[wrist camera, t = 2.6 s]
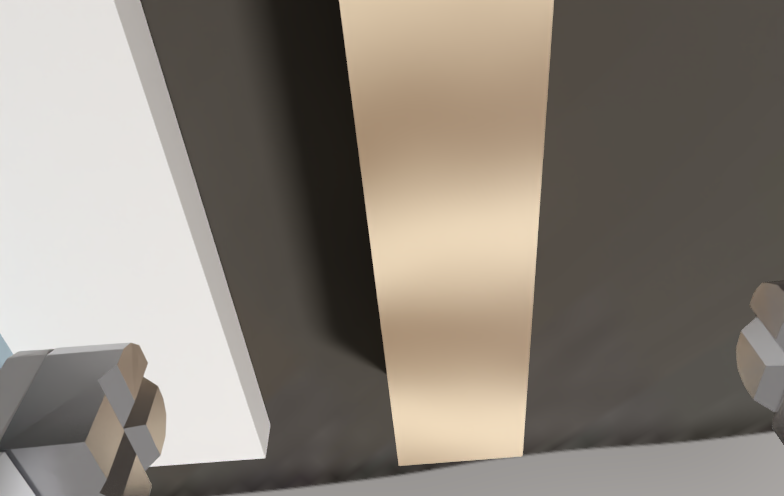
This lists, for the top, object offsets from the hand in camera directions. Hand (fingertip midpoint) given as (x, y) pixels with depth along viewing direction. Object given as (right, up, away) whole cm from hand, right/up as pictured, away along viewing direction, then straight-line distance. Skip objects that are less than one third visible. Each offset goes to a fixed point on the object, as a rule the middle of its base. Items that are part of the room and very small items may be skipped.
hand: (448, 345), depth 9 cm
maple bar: (0, +6, +8) cm, 10 cm away
